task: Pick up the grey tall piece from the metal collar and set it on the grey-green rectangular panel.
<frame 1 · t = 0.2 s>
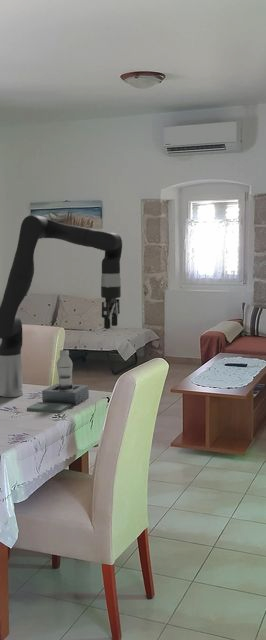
hand: (110, 327, 250), 29 cm above the table, tool pointing down, fingers open, 8 cm apart
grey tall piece: (66, 401, 256), resting in metal collar
grey-green rectangular panel: (49, 408, 244), on the table
metal collar: (66, 400, 256), on the table
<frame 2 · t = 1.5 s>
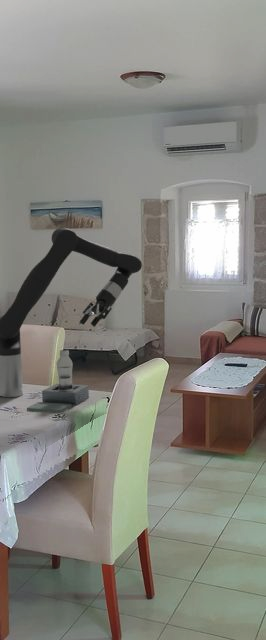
hand: (86, 324, 266), 28 cm above the table, tool tilted 45°, fingers open, 8 cm apart
nothing on the table moved.
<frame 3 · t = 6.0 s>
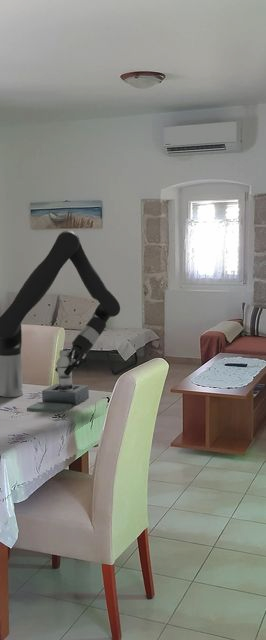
hand: (61, 372, 254), 11 cm above the table, tool tilted 45°, fingers closed on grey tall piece, 6 cm apart
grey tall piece: (66, 400, 256), resting in metal collar, touching gripper
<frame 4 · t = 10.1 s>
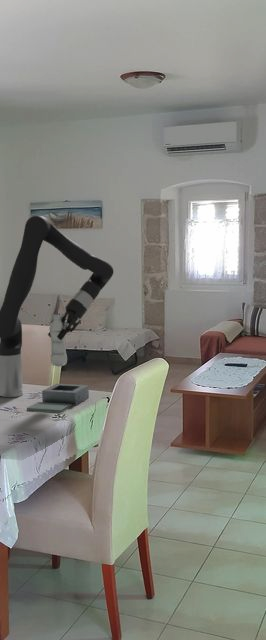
hand: (54, 337, 248), 26 cm above the table, tool tilted 45°, fingers closed on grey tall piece, 6 cm apart
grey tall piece: (59, 366, 250), point 14 cm above the table, touching gripper
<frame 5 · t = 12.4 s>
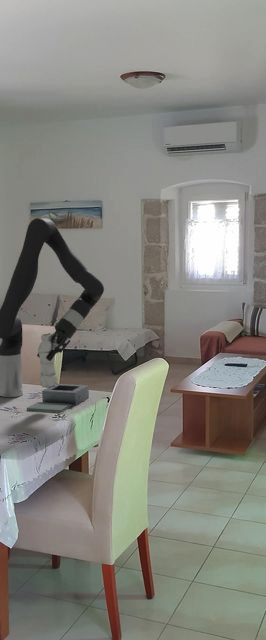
hand: (43, 358, 241), 19 cm above the table, tool tilted 45°, fingers closed on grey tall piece, 6 cm apart
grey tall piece: (48, 388, 243), point 8 cm above the table, touching gripper
when the fingers open (14 cm above the table, at t = 14.3 s): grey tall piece drops 1 cm, resting on grey-green rectangular panel.
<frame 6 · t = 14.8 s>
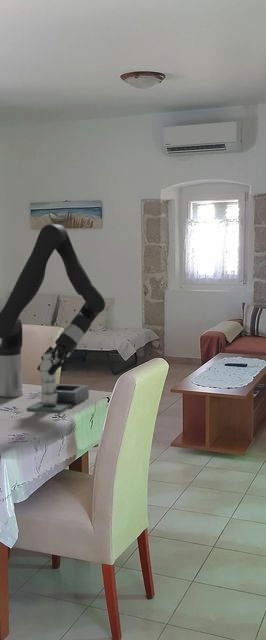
hand: (44, 372, 242), 14 cm above the table, tool tilted 45°, fingers open, 8 cm apart
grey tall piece: (49, 406, 244), point 1 cm above the table, touching grey-green rectangular panel
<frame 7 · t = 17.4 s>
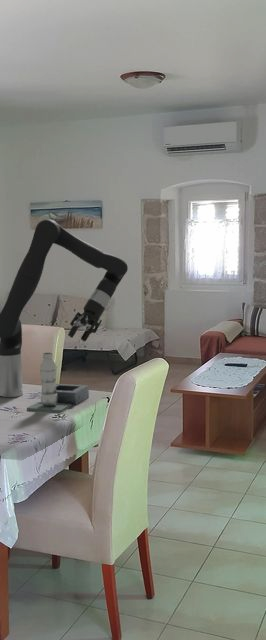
hand: (76, 338, 251), 25 cm above the table, tool tilted 40°, fingers open, 8 cm apart
nothing on the table moved.
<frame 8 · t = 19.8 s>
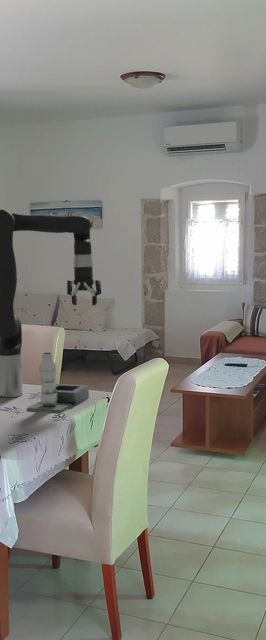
hand: (84, 305, 267), 36 cm above the table, tool pointing down, fingers open, 8 cm apart
nothing on the table moved.
at the end: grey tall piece inside the target area on the grey-green rectangular panel (0.3 cm from its centre), point 0.8 cm above the grey-green rectangular panel's base; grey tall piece tilted 0°; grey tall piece touching grey-green rectangular panel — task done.
